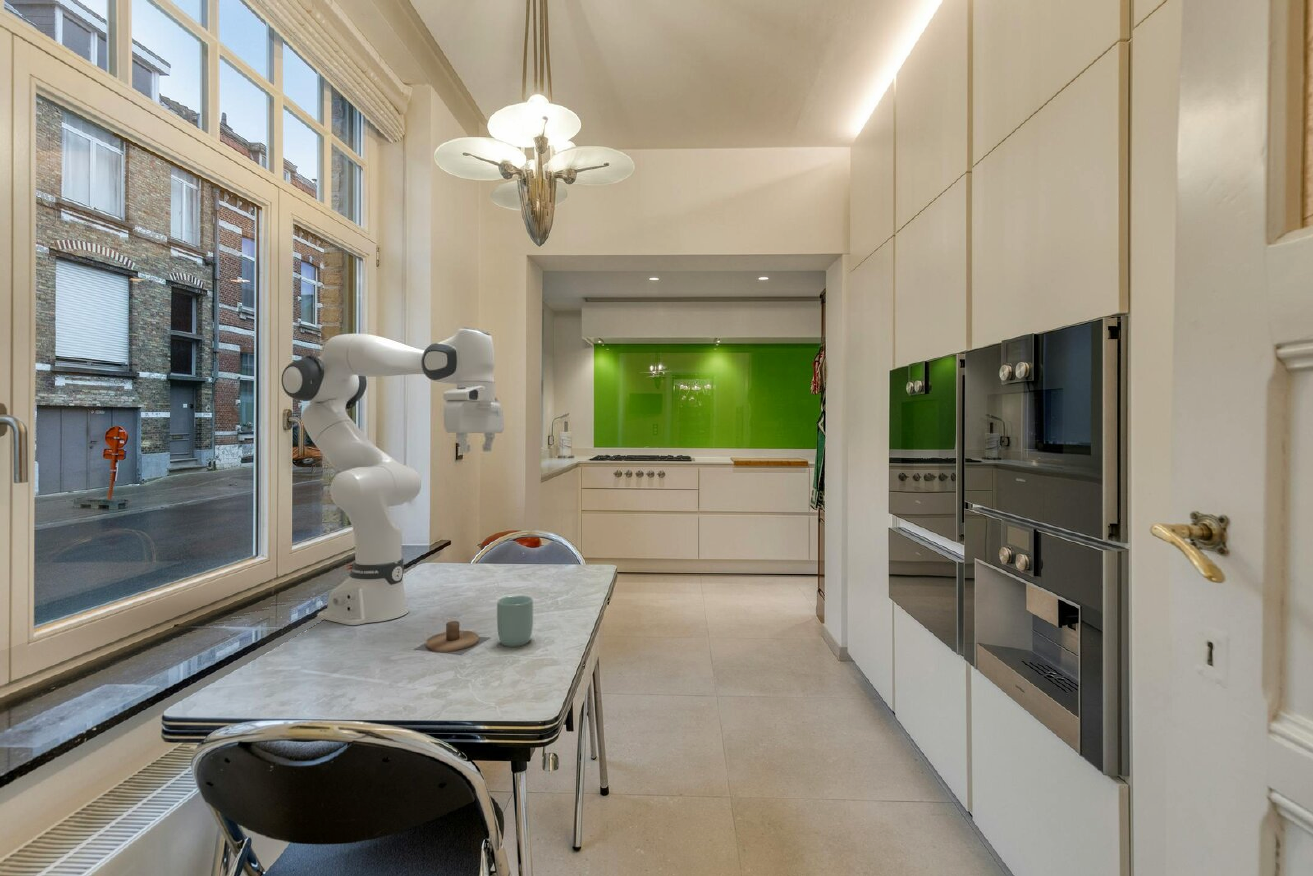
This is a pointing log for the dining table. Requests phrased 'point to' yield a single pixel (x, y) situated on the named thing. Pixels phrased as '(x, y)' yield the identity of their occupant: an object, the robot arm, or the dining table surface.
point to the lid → (452, 639)
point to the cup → (515, 620)
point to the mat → (481, 640)
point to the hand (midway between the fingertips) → (476, 452)
